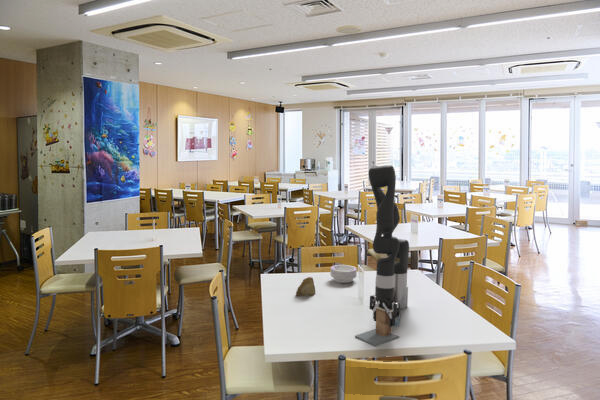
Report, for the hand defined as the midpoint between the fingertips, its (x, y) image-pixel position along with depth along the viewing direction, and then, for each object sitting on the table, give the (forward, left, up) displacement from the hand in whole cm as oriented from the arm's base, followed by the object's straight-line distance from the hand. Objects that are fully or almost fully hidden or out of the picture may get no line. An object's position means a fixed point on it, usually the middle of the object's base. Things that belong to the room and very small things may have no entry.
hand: (383, 323), depth 187 cm
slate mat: (+4, 0, -5) cm, 6 cm away
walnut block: (0, 0, -4) cm, 4 cm away
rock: (-8, -61, -5) cm, 62 cm away
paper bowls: (-42, -68, -5) cm, 80 cm away
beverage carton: (-16, -12, -5) cm, 21 cm away
